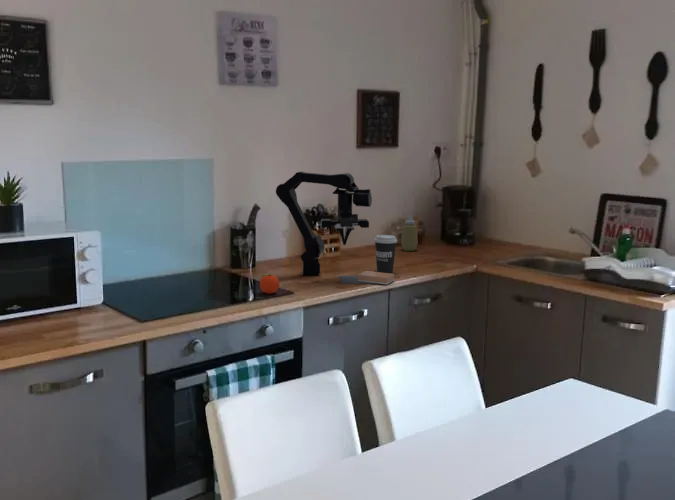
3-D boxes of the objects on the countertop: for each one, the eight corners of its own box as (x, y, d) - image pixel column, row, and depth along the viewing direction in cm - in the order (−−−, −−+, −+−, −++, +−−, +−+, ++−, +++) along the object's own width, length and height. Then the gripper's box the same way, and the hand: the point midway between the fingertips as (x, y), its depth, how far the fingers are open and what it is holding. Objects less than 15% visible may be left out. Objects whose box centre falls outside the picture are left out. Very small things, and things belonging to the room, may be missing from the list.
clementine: (254, 292, 253) (253, 273, 252) (269, 289, 258) (269, 270, 257) (268, 296, 248) (268, 277, 246) (283, 293, 252) (283, 274, 251)
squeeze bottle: (398, 249, 341) (399, 212, 338) (413, 248, 344) (414, 211, 340) (404, 252, 334) (405, 214, 330) (420, 251, 336) (421, 214, 333)
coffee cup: (369, 270, 293) (370, 235, 290) (390, 269, 296) (391, 234, 293) (378, 275, 284) (379, 238, 281) (400, 273, 287) (401, 237, 284)
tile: (358, 274, 271) (387, 278, 266) (365, 270, 278) (394, 273, 273) (357, 281, 271) (387, 284, 266) (365, 276, 278) (394, 280, 274)
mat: (341, 283, 268) (341, 282, 268) (338, 276, 280) (338, 275, 280) (378, 283, 270) (378, 282, 270) (373, 276, 281) (373, 275, 281)
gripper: (322, 208, 266) (322, 248, 269) (371, 208, 268) (370, 248, 271) (320, 204, 277) (320, 243, 280) (367, 204, 279) (366, 243, 282)
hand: (344, 244), depth 278 cm, fingers closed
